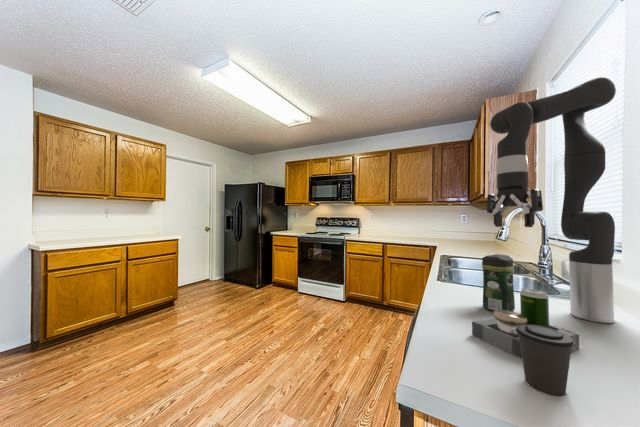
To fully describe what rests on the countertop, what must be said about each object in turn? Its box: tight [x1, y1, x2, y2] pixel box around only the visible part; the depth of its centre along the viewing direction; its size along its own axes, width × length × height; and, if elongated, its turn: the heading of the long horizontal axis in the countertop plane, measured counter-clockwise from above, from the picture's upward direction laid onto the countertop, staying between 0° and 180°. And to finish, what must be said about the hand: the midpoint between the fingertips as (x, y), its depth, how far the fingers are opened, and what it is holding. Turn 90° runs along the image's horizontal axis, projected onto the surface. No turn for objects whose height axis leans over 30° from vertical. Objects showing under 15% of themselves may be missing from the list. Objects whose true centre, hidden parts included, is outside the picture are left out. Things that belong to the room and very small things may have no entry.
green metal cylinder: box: [520, 288, 550, 327], centre depth 63 cm, size 5×5×12 cm
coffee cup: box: [515, 325, 576, 397], centre depth 45 cm, size 8×8×10 cm
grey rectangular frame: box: [471, 317, 580, 360], centre depth 61 cm, size 17×13×4 cm
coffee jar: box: [481, 253, 516, 313], centre depth 85 cm, size 10×8×19 cm
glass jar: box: [493, 310, 527, 338], centre depth 60 cm, size 6×6×7 cm
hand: (512, 226), depth 74 cm, fingers open, 8 cm apart
